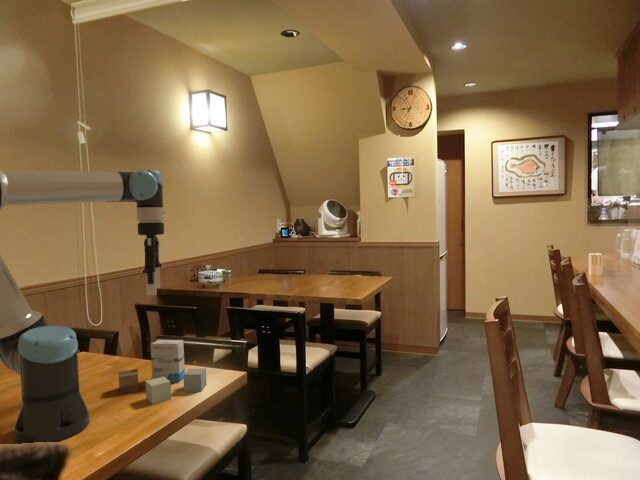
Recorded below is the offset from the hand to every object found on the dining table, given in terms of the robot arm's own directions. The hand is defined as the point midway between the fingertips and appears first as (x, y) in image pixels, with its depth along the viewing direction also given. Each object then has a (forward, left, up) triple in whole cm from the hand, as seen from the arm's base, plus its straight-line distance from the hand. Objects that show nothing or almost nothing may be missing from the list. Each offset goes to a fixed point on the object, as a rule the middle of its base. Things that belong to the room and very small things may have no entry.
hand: (153, 291), depth 139 cm
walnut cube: (-8, +6, -27) cm, 29 cm away
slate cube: (-11, -13, -27) cm, 32 cm away
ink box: (-2, -4, -27) cm, 27 cm away
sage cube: (-17, -4, -27) cm, 32 cm away
